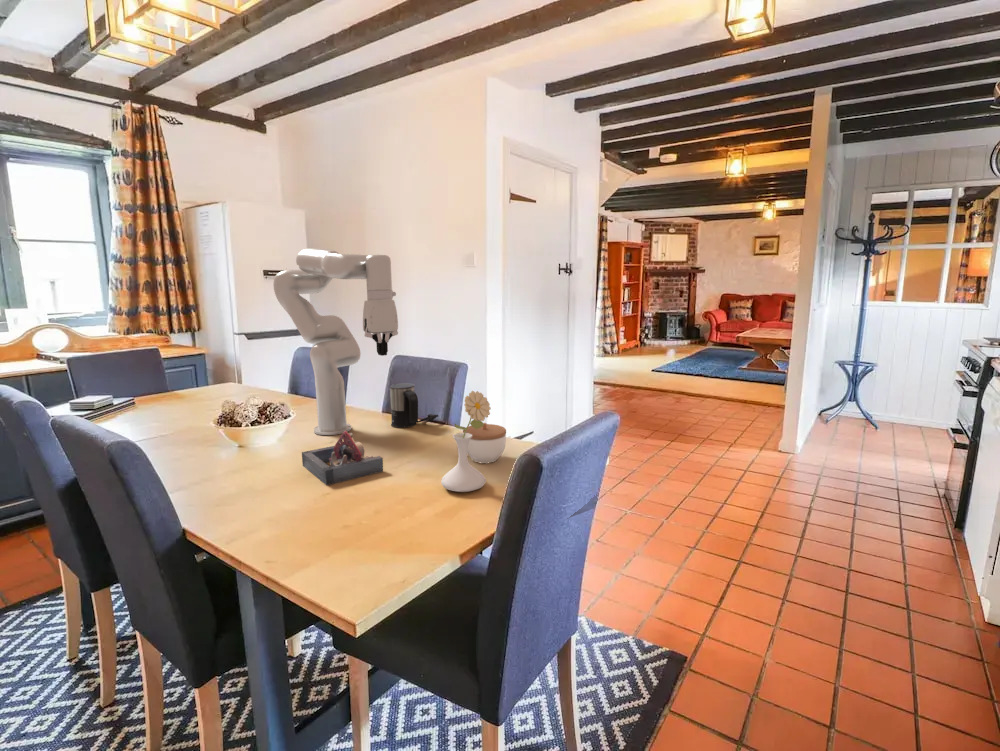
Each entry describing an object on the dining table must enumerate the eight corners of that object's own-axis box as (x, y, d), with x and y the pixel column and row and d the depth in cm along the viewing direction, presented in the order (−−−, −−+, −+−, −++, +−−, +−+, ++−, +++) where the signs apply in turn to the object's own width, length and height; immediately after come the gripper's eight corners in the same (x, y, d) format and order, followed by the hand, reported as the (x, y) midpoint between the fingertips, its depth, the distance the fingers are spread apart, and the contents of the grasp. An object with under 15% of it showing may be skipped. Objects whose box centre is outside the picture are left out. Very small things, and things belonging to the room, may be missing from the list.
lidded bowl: (454, 460, 159) (453, 423, 157) (484, 449, 168) (484, 415, 166) (485, 470, 150) (484, 432, 148) (515, 458, 159) (515, 422, 157)
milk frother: (385, 425, 195) (383, 385, 193) (415, 416, 208) (414, 378, 205) (414, 432, 187) (412, 390, 185) (443, 421, 200) (442, 382, 197)
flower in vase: (449, 499, 131) (446, 398, 126) (435, 483, 141) (432, 389, 136) (498, 490, 136) (497, 393, 131) (482, 475, 146) (480, 385, 142)
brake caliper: (314, 464, 149) (333, 424, 153) (341, 477, 157) (358, 439, 161) (342, 472, 143) (361, 431, 147) (368, 485, 151) (385, 446, 155)
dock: (302, 465, 155) (301, 452, 154) (355, 454, 164) (355, 441, 164) (326, 485, 140) (325, 470, 139) (383, 471, 150) (382, 457, 149)
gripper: (396, 294, 173) (398, 351, 176) (351, 296, 164) (355, 355, 167) (407, 295, 167) (409, 354, 171) (361, 297, 158) (365, 358, 162)
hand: (382, 354), depth 169 cm, fingers closed
